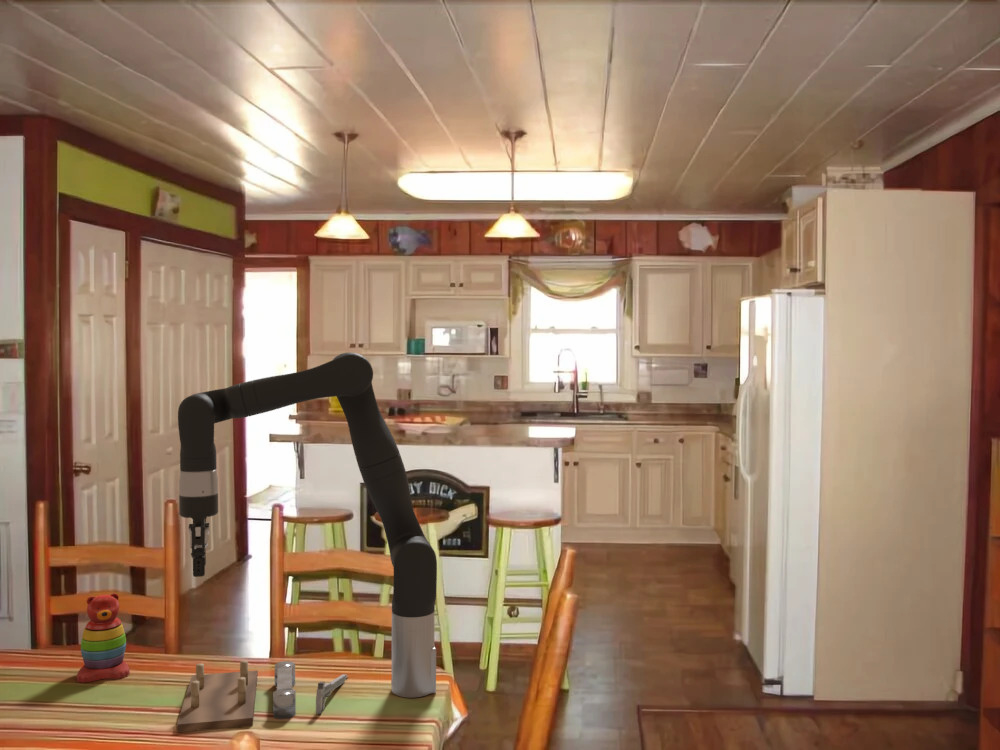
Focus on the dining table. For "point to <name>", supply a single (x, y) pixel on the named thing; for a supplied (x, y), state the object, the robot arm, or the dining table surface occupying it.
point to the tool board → (219, 700)
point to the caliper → (327, 691)
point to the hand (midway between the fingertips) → (199, 571)
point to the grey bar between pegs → (284, 691)
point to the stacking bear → (103, 641)
